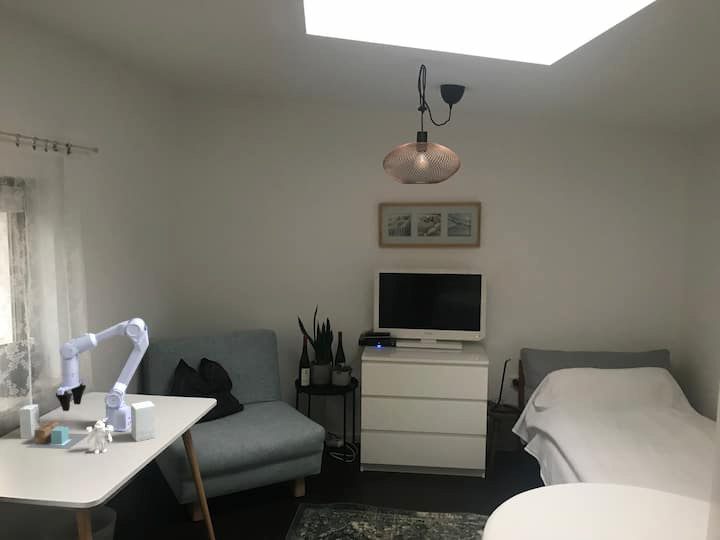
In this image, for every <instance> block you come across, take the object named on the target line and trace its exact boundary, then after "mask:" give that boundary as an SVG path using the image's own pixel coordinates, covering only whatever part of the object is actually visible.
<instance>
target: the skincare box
mask: <svg viewBox="0 0 720 540" xmlns="http://www.w3.org/2000/svg"><path fill="white" fill-rule="evenodd" d="M39 411H40V409H39V404H37V403H36V404H26V405H24V406H23V407H21V408H20V409H19V410H18V412H19V413H18V414H19V427H20V439H21V440H22V439H26V440H27V439H29V440H31V439H33V438H35V435H34V430H35V429H37V428H39V427H41V425H40V412H39Z"/></svg>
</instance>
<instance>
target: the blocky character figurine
mask: <svg viewBox="0 0 720 540" xmlns="http://www.w3.org/2000/svg"><path fill="white" fill-rule="evenodd" d="M107 419H108V417H107V418H106V417H105V418H102V420H97V422H96V423H95V424H94V425H93V426H94V427H92V426H87V427H86V429H85V434H88V435H89V436H88V439H87V441H86V443H87V444H88V445H90V442H92V439H93V437H95V441H94V452H93V453H97V454H99V453H100V452H101V453H102V454H104V452H105V453H106V451H108V450H107V446H106V442H107V441H108V442H109V444H110V443H112V442H113V437H112V435H111V432H114V429H113V426H112V425H111V426H110V425H107V427H106V420H107ZM106 437H107V439H106ZM100 445H101V450H100Z"/></svg>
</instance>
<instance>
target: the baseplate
mask: <svg viewBox="0 0 720 540" xmlns="http://www.w3.org/2000/svg"><path fill="white" fill-rule="evenodd" d="M88 434H89V433H88ZM88 434H87V433H73V432H72V433H70V432H68V441H66V442H65V443H63V444H51V441H49V442H48V443H46V444H35V441H34V442H32V443H31V444H29V445H27V446H26V448H33V449H35V448H36V449H55V450H56V449H59V450H60V449H61V450H70V449H71V448H73V447H74V446H76V445H77V444H79V443H80V442H81V441H83V440H84V439H86V438H87V437H90V435H88Z"/></svg>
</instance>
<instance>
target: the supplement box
mask: <svg viewBox="0 0 720 540" xmlns="http://www.w3.org/2000/svg"><path fill="white" fill-rule="evenodd" d="M130 406H131V427H130V429H131V437H132V438H133V440H134V441H135V442H142V441H147V439H148V440H152V438H153V439H156V437H157V434H156V405H155V404H154V403H153V402H152V401H151V400H146V401H142V402H136V403H135V402H134V403H131V404H130Z"/></svg>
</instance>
